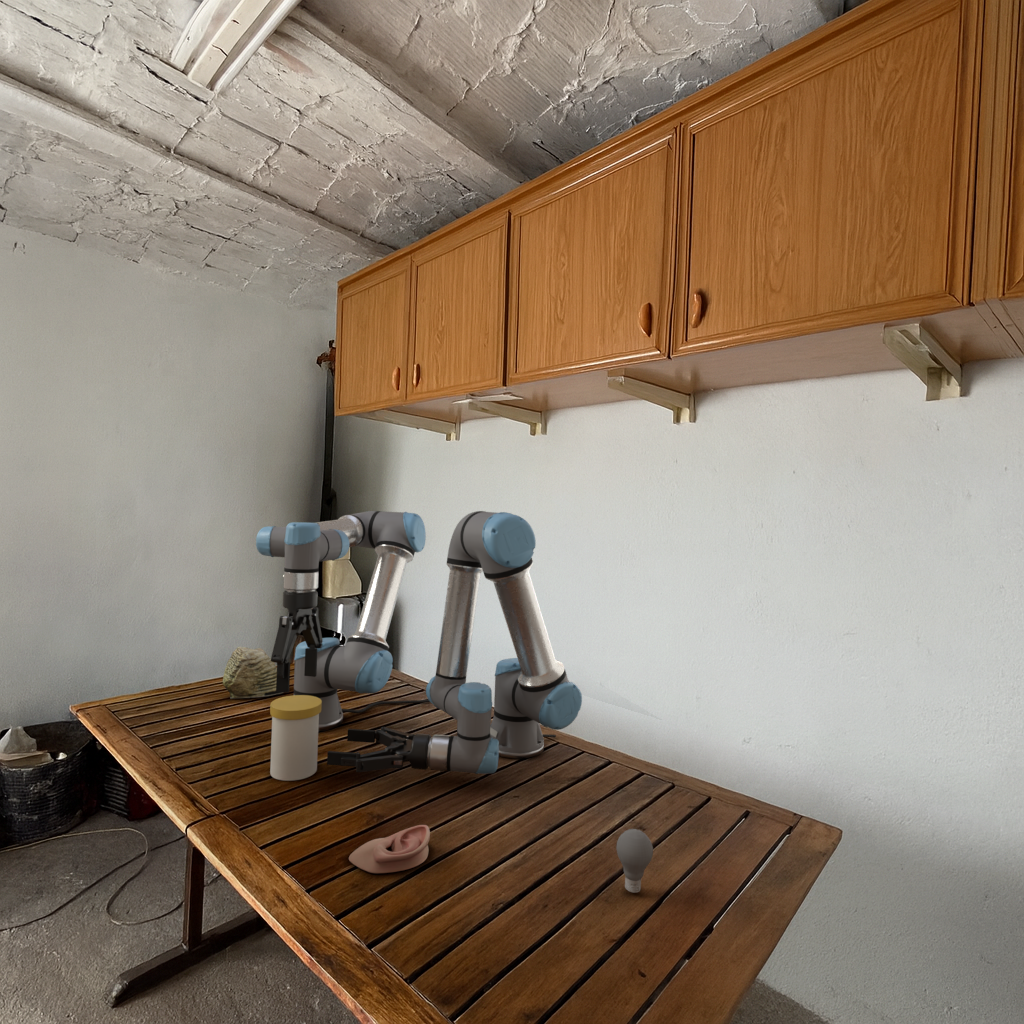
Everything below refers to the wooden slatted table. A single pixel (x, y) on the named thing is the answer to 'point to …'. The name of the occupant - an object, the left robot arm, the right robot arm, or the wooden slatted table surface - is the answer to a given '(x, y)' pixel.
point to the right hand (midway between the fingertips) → (338, 745)
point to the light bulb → (634, 857)
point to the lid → (295, 707)
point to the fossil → (250, 674)
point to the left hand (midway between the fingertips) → (297, 683)
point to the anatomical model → (393, 851)
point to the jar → (294, 748)
